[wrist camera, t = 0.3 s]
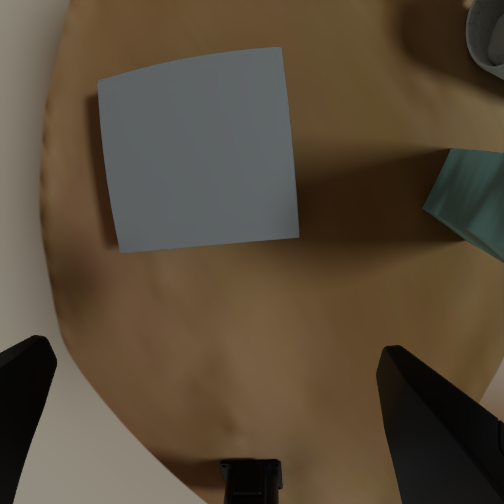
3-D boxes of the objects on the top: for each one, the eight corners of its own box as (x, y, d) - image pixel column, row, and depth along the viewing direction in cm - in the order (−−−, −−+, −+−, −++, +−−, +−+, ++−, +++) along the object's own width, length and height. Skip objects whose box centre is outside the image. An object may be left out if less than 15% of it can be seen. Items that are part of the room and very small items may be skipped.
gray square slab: (295, 227, 21) (299, 237, 18) (135, 242, 21) (120, 253, 19) (279, 58, 17) (281, 46, 15) (114, 87, 18) (97, 81, 16)
